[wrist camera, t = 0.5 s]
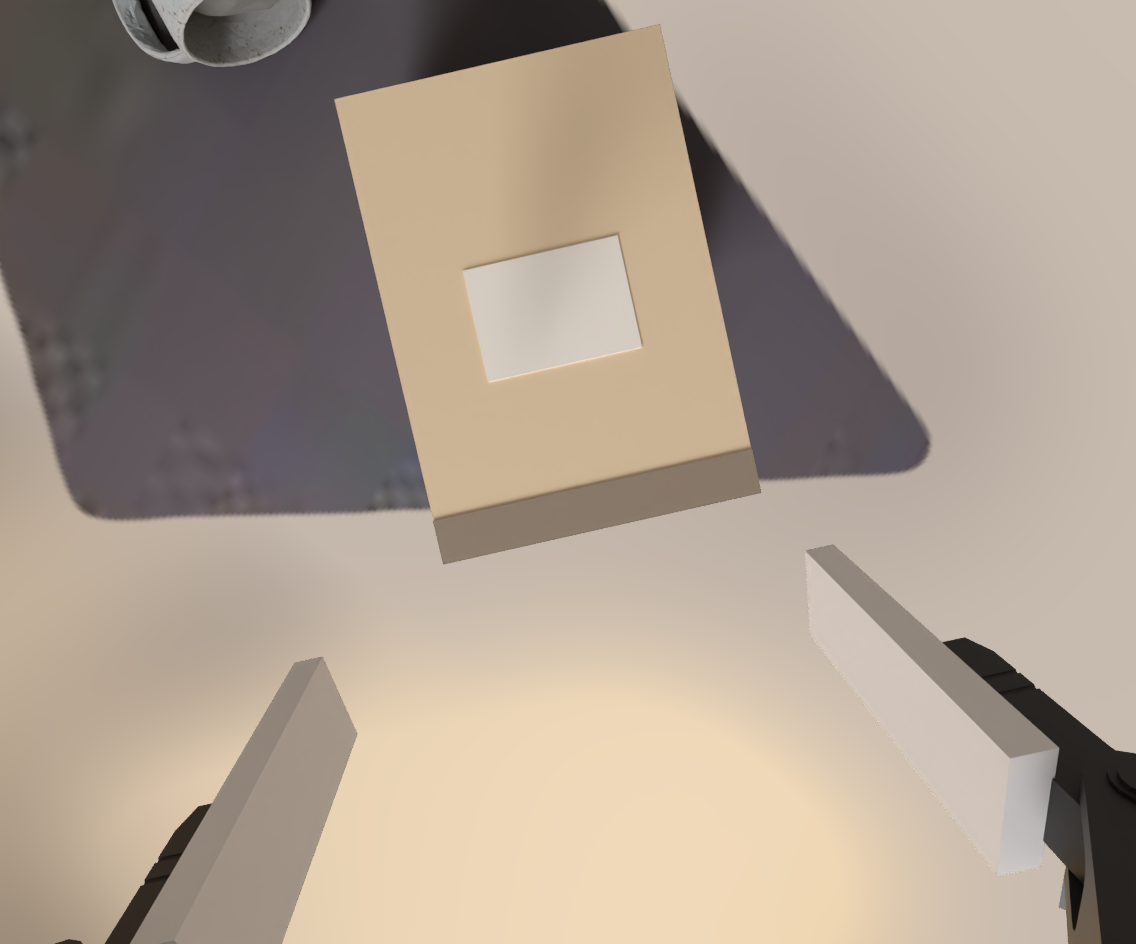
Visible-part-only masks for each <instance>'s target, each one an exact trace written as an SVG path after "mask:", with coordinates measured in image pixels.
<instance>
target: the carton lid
mask: <svg viewBox="0 0 1136 944" xmlns="http://www.w3.org/2000/svg"><path fill="white" fill-rule="evenodd" d="M334 100H335V104H336V108H337V112H338V117H339V121H340V125H341V129H342V134H343V138H344V142H345V146H346V151H347V155H348V159H349V163H350V168H351V172H352V176H353V180H354V185H355V189H356V193H357V197H358V202H359V206H360V210H361V214H362V219H363V223H364V227H365V231H366V236H367V240H368V244H369V248H370V253H371V257H372V261H373V265H374V270H375V274H376V278H377V282H378V287H379V291H380V295H381V299H382V304H383V308H384V312H385V316H386V321H387V325H388V329H389V333H390V338H391V342H392V346H393V350H394V355H395V359H396V363H397V367H398V372H399V376H400V380H401V384H402V389H403V393H404V397H405V401H406V406H407V410H408V414H409V418H410V423H411V427H412V431H413V435H414V440H415V444H416V448H417V452H418V457H419V461H420V465H421V469H422V474H423V478H424V482H425V486H426V491H427V495H428V499H429V503H430V508H431V512H432V516H433V520H434V521H433V523H434V527H435V531H436V536H437V540H438V544H439V549H440V553H441V557H442V561H443V564H447V563H452V562H456V561H461V560H465V559H470V558H474V557H479V556H483V555H488V554H491V553H496V552H501V551H505V550H509V549H514V548H519V547H523V546H528V545H532V544H536V543H541V542H545V541H550V540H554V539H558V538H562V537H567V536H572V535H576V534H581V533H585V532H590V531H594V530H599V529H603V528H607V527H612V526H616V525H621V524H625V523H629V522H634V521H638V520H643V519H647V518H652V517H656V516H661V515H665V514H669V513H674V512H678V511H683V510H687V509H692V508H696V507H701V506H705V505H709V504H714V503H718V502H723V501H727V500H732V499H736V498H741V497H745V496H749V495H753V494H758V493H761V489H760V484H759V480H758V475H757V470H756V466H755V461H754V456H753V452H752V449H751V446H750V441H749V437H748V432H747V427H746V423H745V418H744V413H743V409H742V404H741V399H740V395H739V390H738V385H737V381H736V376H735V371H734V367H733V362H732V357H731V353H730V348H729V344H728V339H727V334H726V330H725V325H724V320H723V316H722V311H721V306H720V302H719V297H718V292H717V288H716V283H715V278H714V274H713V269H712V264H711V260H710V255H709V250H708V246H707V241H706V236H705V232H704V227H703V223H702V218H701V213H700V209H699V204H698V199H697V195H696V190H695V185H694V181H693V176H692V171H691V167H690V162H689V157H688V153H687V148H686V143H685V139H684V134H683V129H682V125H681V120H680V115H679V111H678V106H677V102H676V97H675V92H674V88H673V83H672V78H671V74H670V69H669V64H668V60H667V55H666V50H665V46H664V41H663V37H662V32H661V28H660V24H659V25H654V26H650V27H646V28H641V29H637V30H633V31H628V32H624V33H620V34H615V35H611V36H607V37H602V38H598V39H594V40H589V41H585V42H581V43H576V44H572V45H568V46H563V47H559V48H555V49H550V50H546V51H542V52H537V53H533V54H529V55H524V56H520V57H516V58H511V59H507V60H503V61H498V62H494V63H490V64H485V65H481V66H477V67H472V68H468V69H464V70H459V71H455V72H451V73H446V74H442V75H438V76H433V77H429V78H425V79H420V80H416V81H412V82H407V83H403V84H399V85H394V86H390V87H386V88H381V89H377V90H373V91H369V92H364V93H360V94H356V95H351V96H347V97H343V98H338V99H334Z"/></svg>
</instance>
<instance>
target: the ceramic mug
mask: <svg viewBox="0 0 1136 944" xmlns="http://www.w3.org/2000/svg"><path fill="white" fill-rule="evenodd" d="M112 1H113V4H114V6H115V9H116V11H117V13H118V15H119V17H120V19H121V21H122V23H123V25H124V27H125V28H126V30H127V32H128V33H129V35H130V36H131V38H132V39H133V40H134V41H135V43H136V44H137V45H138V46H139V47H140V48H141V49H142V50H143V51H144V52H146V53H148V54H149V55H151V56H153V57H155V58H157V59H160V60H163V61H170V62H175V63H184V64H188V63H192V62H199V63H202V64H205V65H209V66H214V67H226V66H237V65H244V64H249V63H253V62H256V61H258V60H260V59H263V58H265V57H267V56H269V55H272V54H274V53H276V52H277V51H279V50H280V49H282V48H284V47H285V46H286V45H288V44H289V43H291V42H292V40H293V39H295V38H296V37H297V36H298V35H299V34H300V33H301V31H302V29H303V28H304V27H305V25H306V24H307V22H308V20H309V18H310V14H311V5H312V3H311V0H152V1H153V3H154V5H155V7H156V8H157V10H158V12H159V14H160V16H161V18H162V19H163V21H164V23H165V25H166V27H167V28H168V30H169V32H170V34H171V36H172V37H173V39H174V40H175V42H176V43H177V45H178V46H179V49H175V50H174V51H168V50H167V49H166V47H165V46H164V45H162V44H161V43H160V41H159V39H158V38H157V36H156V34H155V32H154V31H153V29H152V27H151V25H150V23H149V21H148V19H147V17H146V15H145V13H144V12H143V10H142V8H141V4H140V1H139V0H112Z"/></svg>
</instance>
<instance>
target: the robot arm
mask: <svg viewBox="0 0 1136 944" xmlns="http://www.w3.org/2000/svg"><path fill="white" fill-rule="evenodd" d="M805 560H806V577H807V594H808V610H809V625H810V626H809V627H810V635H811V637H812V638H813V639H814V641H815V642H816V643H817V644H818V646H819V647H820V648H821V650H822V651H823V652H824V653H825V655H826V656H827V657H828V659H829V660H830V661H831V663H832V664H833V665H834V666H835V668H836V669H837V670H838V672H839V673H840V674H841V675H842V677H843V678H844V679H845V681H846V682H847V683H848V685H849V686H850V687H851V688H852V690H853V691H854V692H855V694H856V695H857V696H858V697H859V699H860V700H861V701H862V703H863V704H864V705H865V706H866V708H867V709H868V710H869V711H870V713H871V714H872V716H873V717H874V718H875V719H876V721H877V722H878V723H879V725H880V726H881V727H882V728H883V730H884V731H885V732H886V734H887V735H888V736H889V737H890V739H891V740H892V741H893V743H894V744H895V745H896V747H897V748H898V749H899V750H900V752H901V753H902V754H903V756H904V757H905V758H906V759H907V761H908V762H909V763H910V765H911V766H912V767H913V768H914V770H915V771H916V772H917V774H918V775H919V776H920V777H921V779H922V780H923V781H924V782H925V784H926V785H927V787H929V789H930V790H931V792H932V793H933V794H934V795H935V797H936V798H937V799H938V801H939V802H940V803H941V805H942V806H943V807H944V808H945V810H946V811H947V812H948V814H949V815H950V816H951V817H952V819H953V820H954V821H955V822H956V824H957V825H958V826H959V828H960V829H961V830H962V832H963V833H964V834H965V836H966V837H967V838H968V839H969V841H970V842H971V843H972V845H973V846H974V847H975V848H976V850H977V851H978V852H979V854H980V855H981V856H982V858H983V859H984V860H985V861H986V862H987V864H988V865H989V866H990V868H991V869H992V870H993V872H994V873H995V874H996V875H997V876H998V877H999V876H1003V875H1008V874H1013V873H1017V872H1022V871H1027V870H1031V869H1036V868H1040V867H1042V861H1043V854H1044V847H1045V843H1046V844H1047V845H1048V847H1049V848H1050V849H1051V850H1052V851H1053V852H1054V853H1055V854H1056V856H1057V857H1058V858H1059V859H1060V860H1061V861H1062V862H1063V863H1064V864H1065V865H1066V869H1065V875H1064V881H1063V887H1062V893H1061V898H1060V905H1059V907H1060V908H1062V909H1065V910H1066V915H1067V930H1068V944H1136V754H1135V753H1129V752H1122V751H1116V750H1114V749H1113V748H1111V747H1110V746H1109V745H1107V744H1106V743H1105V742H1104V741H1102V740H1101V739H1100V738H1099V737H1098V736H1096V735H1095V734H1094V733H1092V732H1091V731H1090V730H1089V729H1088V728H1087V727H1085V726H1084V725H1083V724H1081V723H1080V722H1079V721H1078V720H1077V719H1076V718H1074V717H1073V716H1072V715H1071V714H1069V713H1068V712H1067V711H1066V710H1065V709H1063V708H1062V707H1061V706H1060V705H1058V704H1057V703H1056V702H1055V701H1054V700H1052V699H1051V698H1050V697H1049V696H1047V695H1046V694H1045V693H1044V692H1042V691H1041V690H1040V689H1036V688H1035V686H1034V684H1033V683H1032V682H1030V681H1029V680H1028V679H1027V678H1026V677H1024V676H1023V675H1022V674H1021V673H1017V672H1016V669H1014V668H1013V667H1012V666H1011V665H1010V664H1008V663H1007V662H1006V661H1005V660H1004V659H1002V658H1001V657H1000V656H999V655H997V654H996V653H995V652H994V651H992V650H990V649H988V648H986V647H984V646H982V645H979V644H977V643H975V642H973V641H971V640H969V639H967V638H960V639H956V640H951V641H946V642H941V641H940V640H939V639H938V638H937V637H935V636H934V635H933V634H932V633H931V632H930V631H929V630H928V629H927V628H925V627H924V626H923V625H922V624H921V623H920V622H919V621H918V620H917V619H915V618H914V617H913V616H912V615H911V614H910V613H909V612H908V611H906V610H905V609H904V608H903V607H902V606H901V605H900V604H899V603H898V602H897V601H895V600H894V599H893V598H892V597H891V596H890V595H889V594H888V593H887V592H885V591H884V590H883V589H882V588H881V587H880V586H879V585H878V584H877V583H875V582H874V581H873V580H872V579H871V578H870V577H869V576H868V575H867V574H865V573H864V572H863V571H862V570H861V569H860V568H859V567H858V566H857V565H855V564H854V563H853V562H852V561H851V560H850V559H849V558H848V557H847V556H845V555H844V554H843V553H842V552H841V551H840V550H839V549H838V548H837V547H835V546H834V545H829V546H824V547H819V548H815V549H810V550H806V551H805ZM356 737H357V732H356V729H355V727H354V725H353V723H352V721H351V718H350V716H349V714H348V712H347V710H346V708H345V705H344V703H343V701H342V699H341V696H340V694H339V692H338V690H337V688H336V685H335V683H334V681H333V679H332V676H331V674H330V672H329V670H328V668H327V666H326V663H325V661H324V659H323V657H318V658H314V659H309V660H305V661H300V662H296V663H294V664H293V666H292V668H291V670H290V671H289V673H288V675H287V676H286V678H285V680H284V682H283V683H282V685H281V687H280V689H279V690H278V692H277V693H276V695H275V697H274V699H273V700H272V702H271V704H270V705H269V707H268V709H267V711H266V712H265V714H264V716H263V717H262V719H261V721H260V723H259V724H258V726H257V728H256V729H255V731H254V733H253V734H252V736H251V738H250V740H249V741H248V743H247V745H246V747H245V748H244V750H243V752H242V753H241V755H240V757H239V758H238V760H237V762H236V764H235V765H234V767H233V769H232V770H231V772H230V774H229V776H228V777H227V779H226V781H225V782H224V784H223V786H222V787H221V789H220V791H219V793H218V794H217V796H216V798H215V799H214V801H213V803H212V804H207V805H203V806H199V807H197V808H196V810H195V811H194V812H193V813H192V814H191V815H190V816H189V817H188V818H187V819H186V820H185V821H184V822H183V823H182V824H181V825H180V826H179V828H178V829H177V830H176V831H175V832H174V833H173V835H172V837H171V838H170V840H169V842H168V843H167V845H166V846H165V848H164V850H163V851H162V853H161V854H160V856H159V858H158V859H159V860H158V863H155V864H154V866H153V867H152V869H151V871H150V872H149V874H148V875H147V877H146V878H145V884H144V885H142V886H140V888H139V890H138V891H137V893H136V895H135V896H134V898H133V899H132V901H131V903H130V904H129V906H128V907H127V909H126V911H125V912H124V914H123V916H122V917H121V919H120V920H119V922H118V923H117V925H116V927H115V928H114V930H113V931H112V933H111V935H110V936H109V938H108V939H107V941H106V943H105V944H282V942H283V939H284V936H285V933H286V931H287V928H288V925H289V922H290V919H291V917H292V914H293V911H294V908H295V905H296V903H297V900H298V897H299V895H300V892H301V889H302V886H303V883H304V881H305V878H306V875H307V872H308V870H309V867H310V864H311V861H312V858H313V856H314V853H315V850H316V847H317V845H318V842H319V839H320V836H321V833H322V831H323V828H324V825H325V822H326V820H327V817H328V814H329V811H330V809H331V806H332V803H333V800H334V798H335V795H336V792H337V789H338V786H339V784H340V781H341V778H342V775H343V773H344V770H345V767H346V764H347V762H348V759H349V756H350V753H351V750H352V748H353V745H354V742H355V739H356ZM56 944H82V943H81V941H77V940H70V939H68V940H65V941H62V942H59V943H56Z"/></svg>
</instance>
